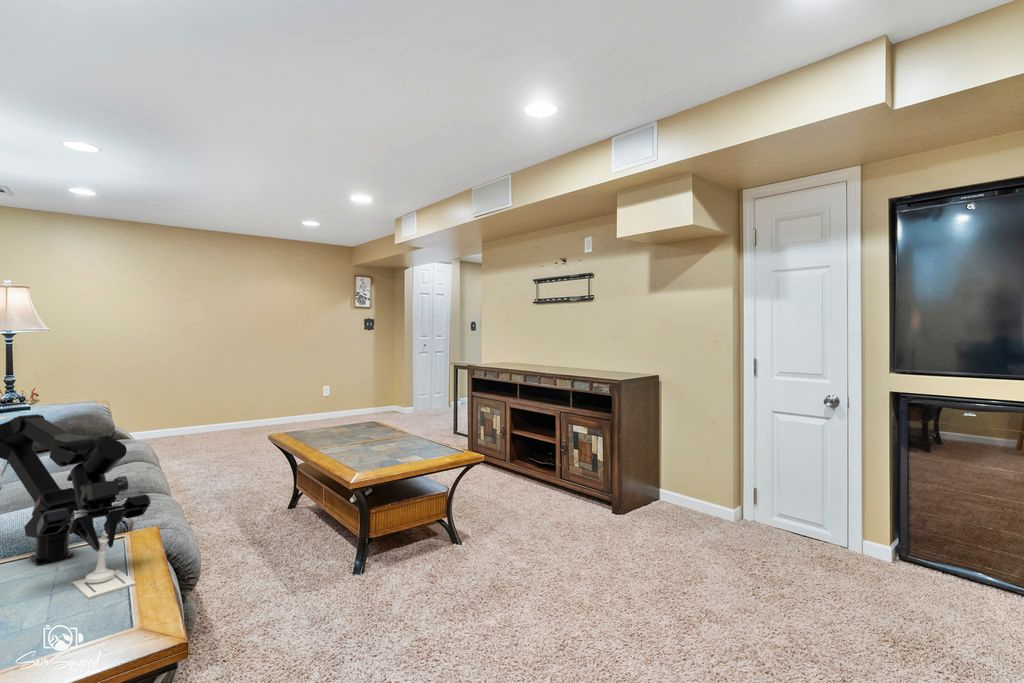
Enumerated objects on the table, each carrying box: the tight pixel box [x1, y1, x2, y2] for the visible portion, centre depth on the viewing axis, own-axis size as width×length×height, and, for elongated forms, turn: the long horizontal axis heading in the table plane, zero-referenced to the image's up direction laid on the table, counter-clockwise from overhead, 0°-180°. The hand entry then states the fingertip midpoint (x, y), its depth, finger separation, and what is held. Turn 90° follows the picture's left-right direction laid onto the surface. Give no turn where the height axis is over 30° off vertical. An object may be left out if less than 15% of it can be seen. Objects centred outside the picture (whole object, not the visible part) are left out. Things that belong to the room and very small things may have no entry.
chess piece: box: [84, 530, 115, 583], centre depth 107 cm, size 5×5×10 cm
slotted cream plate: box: [71, 569, 137, 600], centre depth 106 cm, size 10×8×1 cm
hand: (104, 548), depth 107 cm, fingers closed on chess piece
